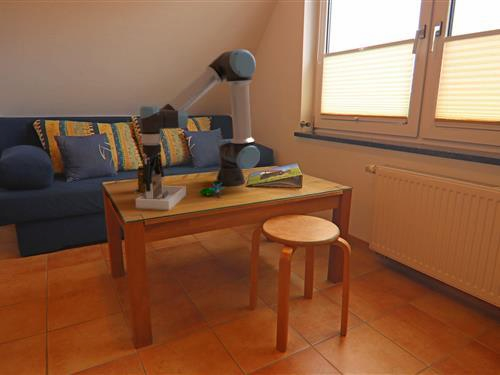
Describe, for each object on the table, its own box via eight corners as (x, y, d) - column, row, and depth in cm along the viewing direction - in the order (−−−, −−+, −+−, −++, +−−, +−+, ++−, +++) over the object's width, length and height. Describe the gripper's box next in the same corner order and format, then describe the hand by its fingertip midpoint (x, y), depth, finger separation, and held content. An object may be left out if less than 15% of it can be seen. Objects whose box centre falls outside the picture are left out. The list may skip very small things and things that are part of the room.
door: (164, 193, 155) (163, 174, 152) (155, 200, 145) (154, 179, 143) (155, 193, 155) (154, 173, 153) (146, 199, 146) (145, 178, 143)
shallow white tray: (185, 195, 160) (185, 186, 159) (169, 210, 139) (168, 200, 138) (156, 193, 162) (156, 184, 160) (136, 208, 141) (135, 198, 139)
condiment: (152, 192, 163) (150, 168, 160) (133, 193, 161) (131, 168, 158) (152, 188, 170) (151, 164, 167) (134, 189, 168) (133, 165, 165)
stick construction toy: (226, 188, 164) (223, 178, 158) (229, 199, 160) (226, 189, 153) (201, 195, 163) (197, 186, 157) (204, 207, 159) (200, 197, 153)
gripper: (153, 140, 155) (156, 187, 161) (130, 147, 134) (134, 202, 140) (169, 140, 154) (171, 188, 160) (149, 148, 133) (152, 203, 139)
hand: (154, 194), depth 150 cm, fingers closed on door, 10 cm apart
